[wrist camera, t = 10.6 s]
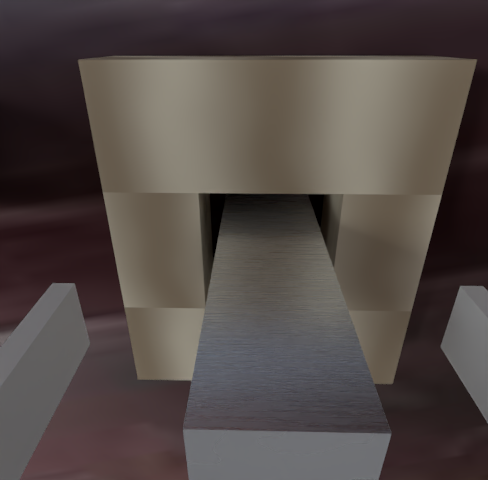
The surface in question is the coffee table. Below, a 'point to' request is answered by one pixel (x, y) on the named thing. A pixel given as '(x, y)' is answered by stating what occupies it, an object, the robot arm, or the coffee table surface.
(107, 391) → the coffee table surface
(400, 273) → the socket block
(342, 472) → the grey long block
